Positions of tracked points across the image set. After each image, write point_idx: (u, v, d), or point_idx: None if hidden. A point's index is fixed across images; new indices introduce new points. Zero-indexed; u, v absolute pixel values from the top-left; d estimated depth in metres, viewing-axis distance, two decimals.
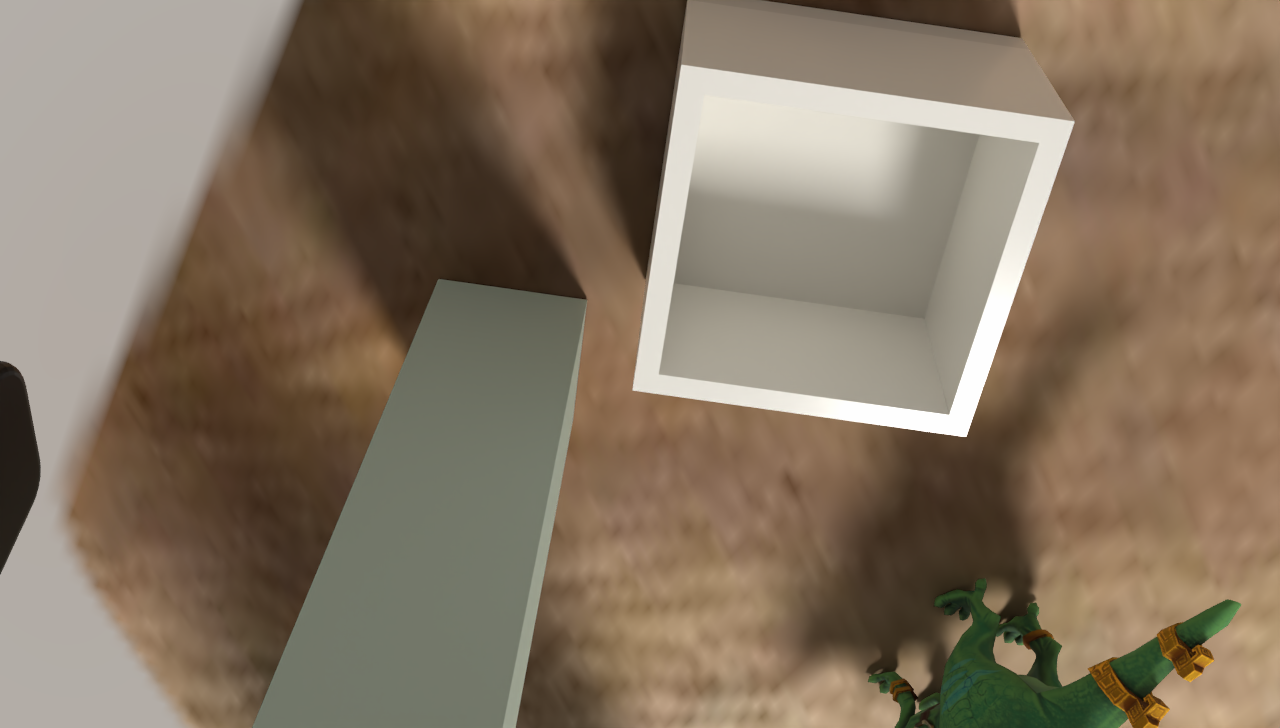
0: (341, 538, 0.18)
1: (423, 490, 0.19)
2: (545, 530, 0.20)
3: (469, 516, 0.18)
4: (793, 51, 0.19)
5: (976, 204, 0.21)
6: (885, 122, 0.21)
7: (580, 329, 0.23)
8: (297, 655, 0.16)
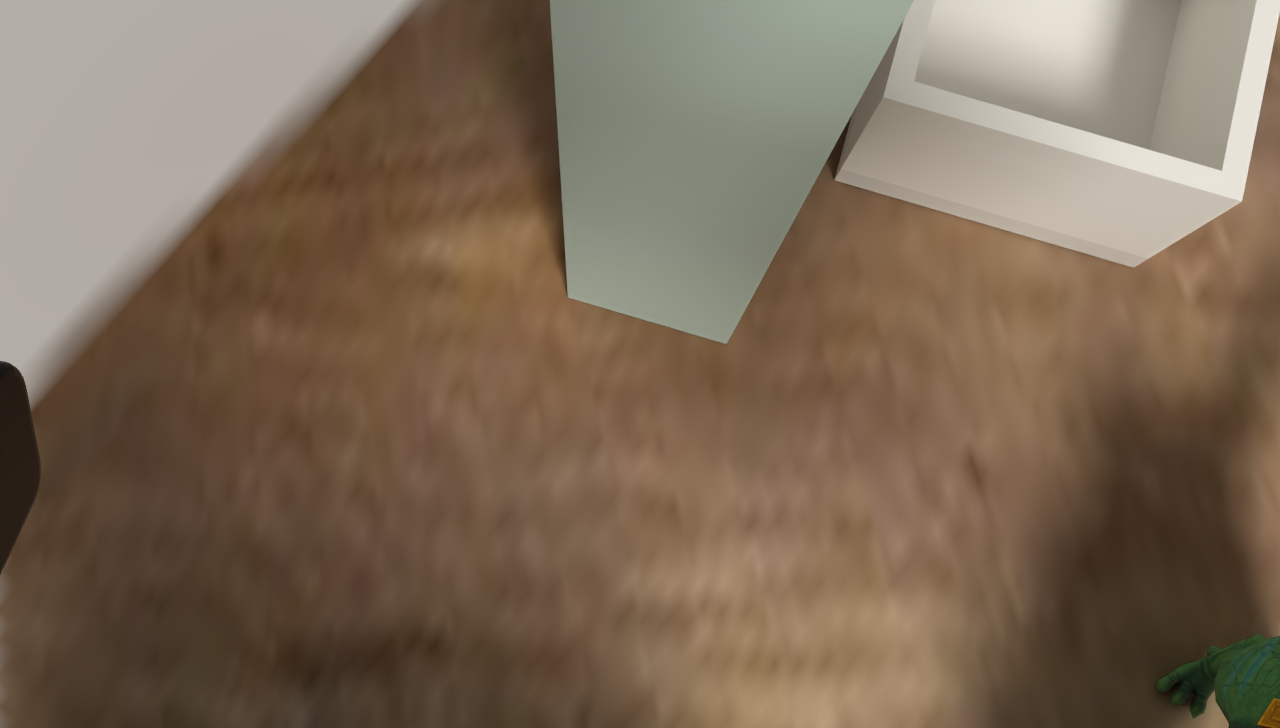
0: None
1: None
2: None
3: None
4: None
5: (1191, 61, 0.22)
6: (1086, 24, 0.23)
7: None
8: None
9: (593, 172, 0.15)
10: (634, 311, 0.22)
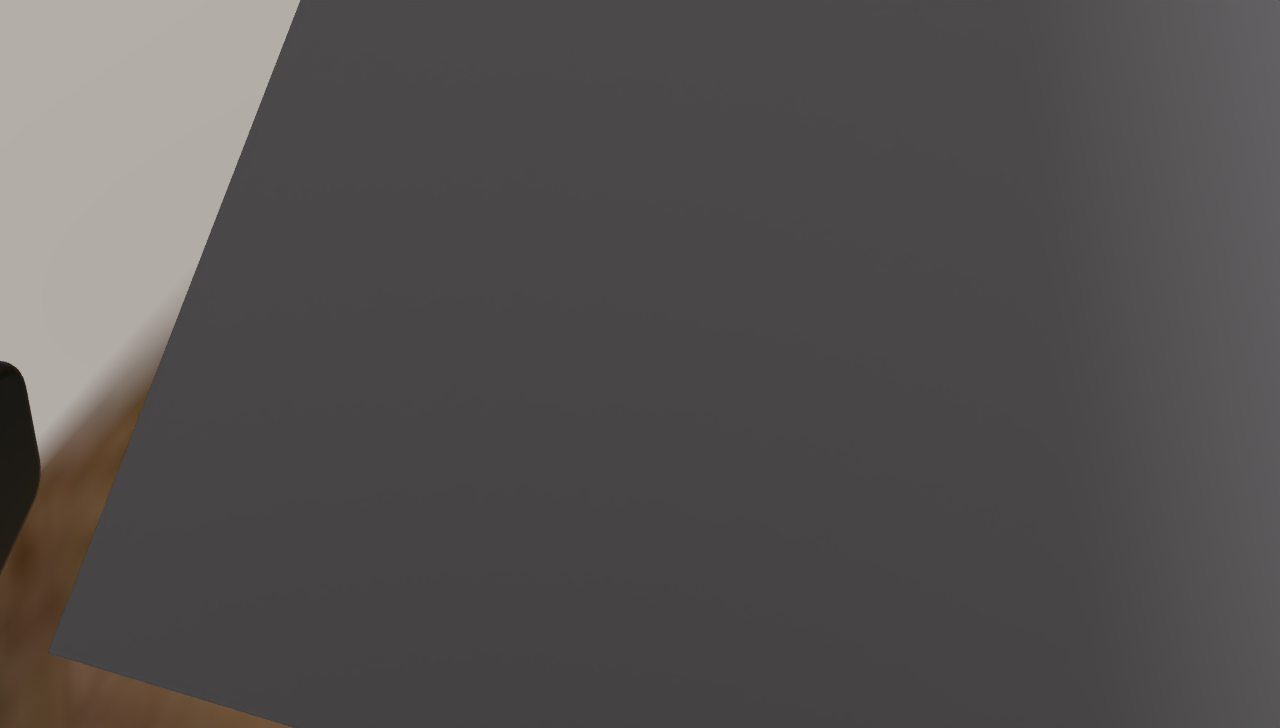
0: None
1: None
2: None
3: None
4: None
5: None
6: None
7: None
8: None
9: None
10: None
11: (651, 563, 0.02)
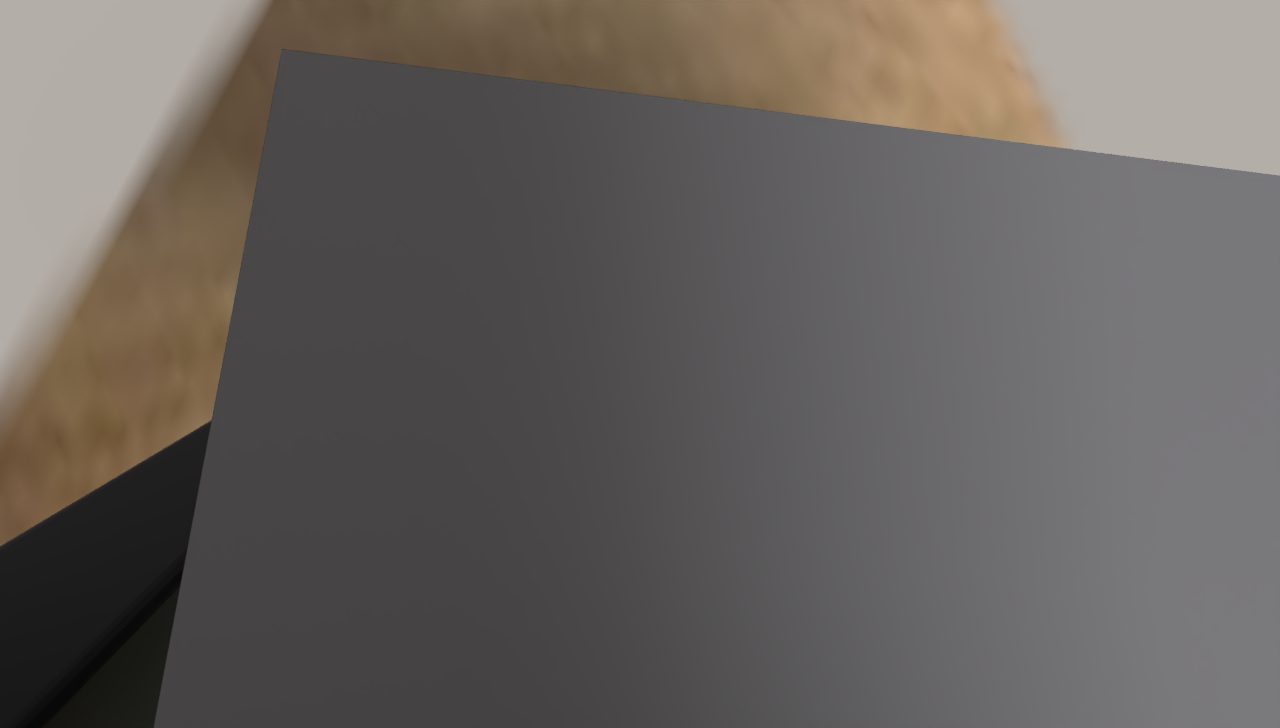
0: None
1: None
2: None
3: None
4: None
5: None
6: None
7: None
8: None
9: None
10: None
11: None
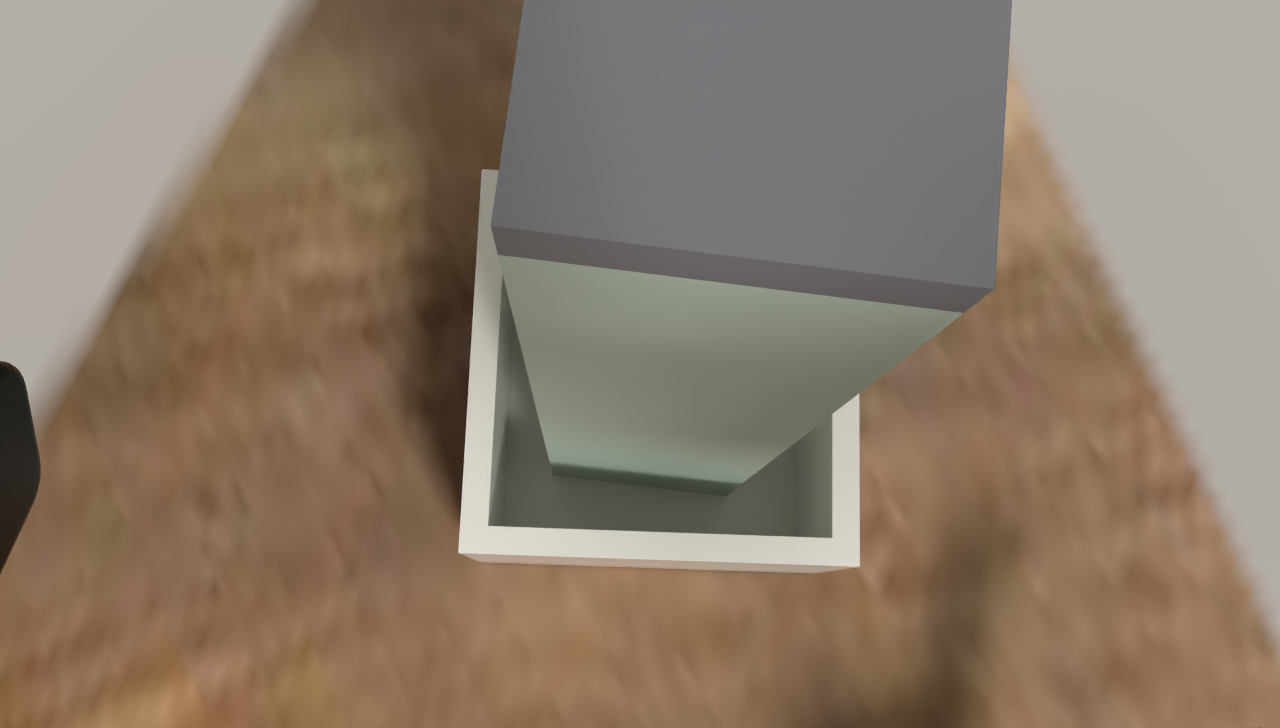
0: None
1: None
2: None
3: None
4: None
5: None
6: None
7: None
8: None
9: (574, 418, 0.14)
10: (625, 481, 0.20)
11: (683, 168, 0.07)
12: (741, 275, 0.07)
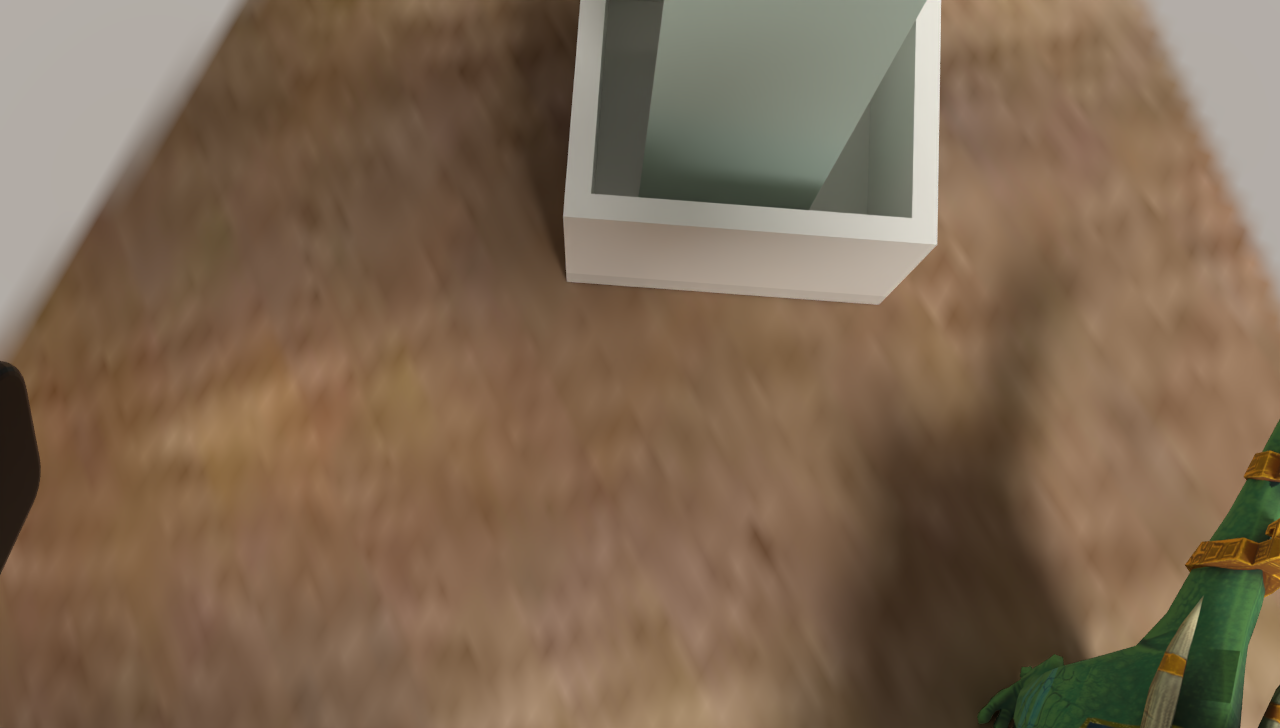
0: None
1: None
2: None
3: None
4: None
5: (883, 96, 0.21)
6: None
7: None
8: None
9: (696, 23, 0.15)
10: (708, 201, 0.22)
11: None
12: None
